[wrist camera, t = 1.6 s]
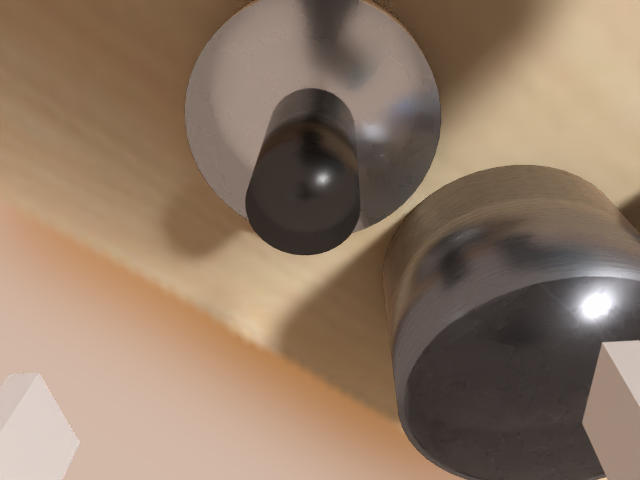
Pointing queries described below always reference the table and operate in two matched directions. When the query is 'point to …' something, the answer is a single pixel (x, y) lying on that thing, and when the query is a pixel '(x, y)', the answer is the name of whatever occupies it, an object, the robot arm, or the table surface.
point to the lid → (312, 118)
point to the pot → (508, 320)
